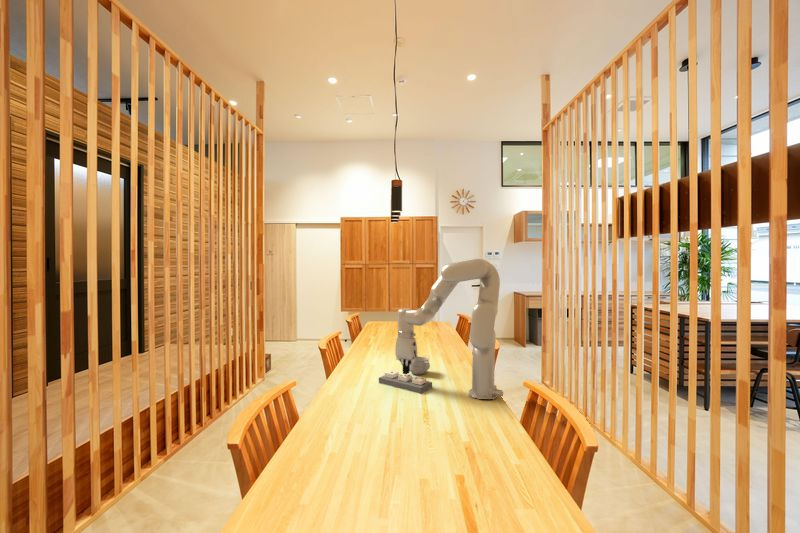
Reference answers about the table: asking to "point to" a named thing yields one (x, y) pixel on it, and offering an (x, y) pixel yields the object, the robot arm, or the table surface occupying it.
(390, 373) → the button one
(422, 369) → the teacup
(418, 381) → the button two
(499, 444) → the table surface
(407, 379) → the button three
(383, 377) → the button panel
